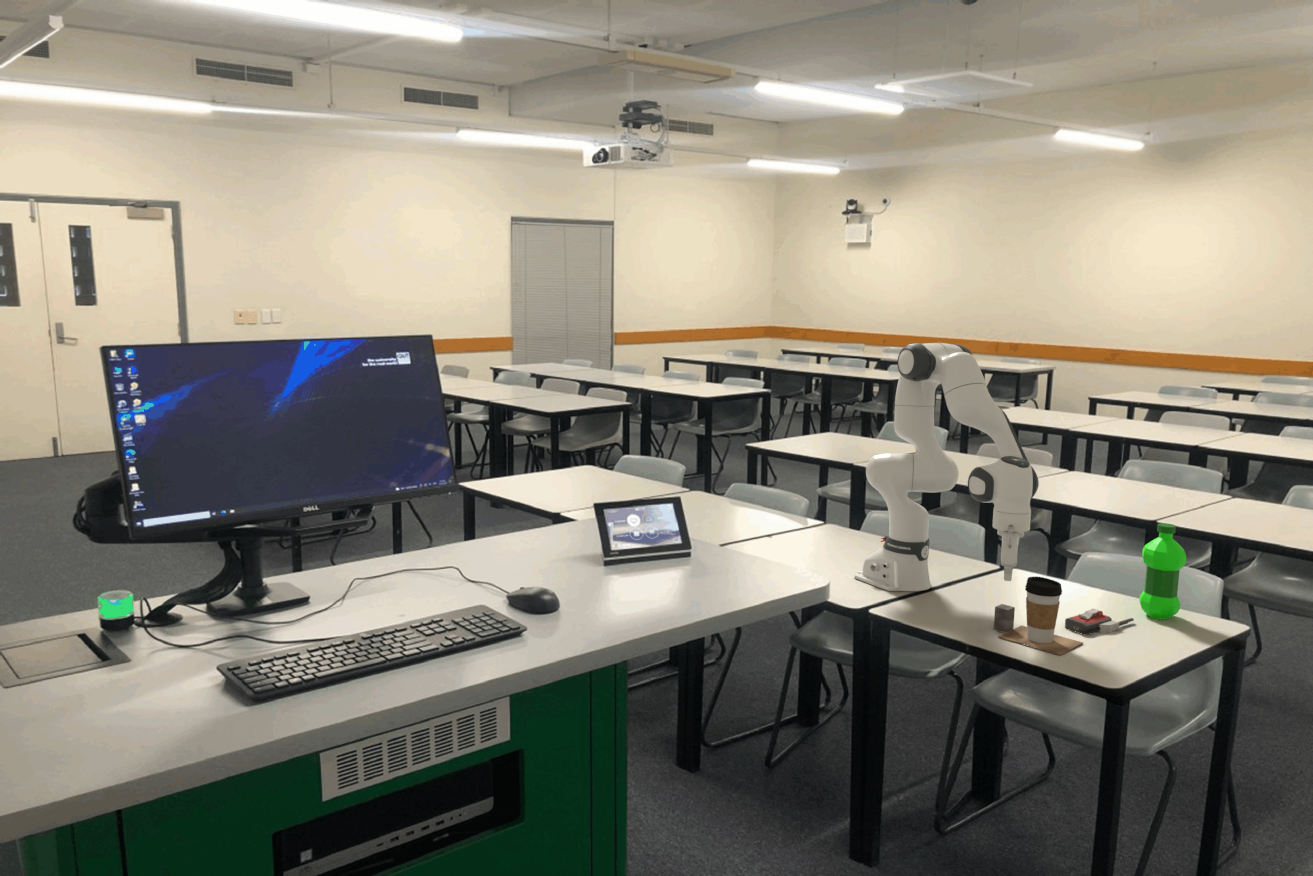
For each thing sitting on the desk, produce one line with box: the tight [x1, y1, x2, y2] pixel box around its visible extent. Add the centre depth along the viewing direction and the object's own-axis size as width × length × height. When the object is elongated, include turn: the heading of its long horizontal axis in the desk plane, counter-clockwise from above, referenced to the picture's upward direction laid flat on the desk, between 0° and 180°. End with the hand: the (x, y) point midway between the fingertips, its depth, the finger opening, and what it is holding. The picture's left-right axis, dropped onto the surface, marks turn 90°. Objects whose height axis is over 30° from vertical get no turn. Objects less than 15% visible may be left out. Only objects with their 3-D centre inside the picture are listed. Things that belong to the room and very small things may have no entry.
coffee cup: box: [1025, 576, 1063, 643], centre depth 237 cm, size 8×8×15 cm
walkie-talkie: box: [1064, 608, 1134, 635], centre depth 249 cm, size 9×4×20 cm
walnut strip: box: [993, 603, 1084, 656], centre depth 239 cm, size 20×12×6 cm, turn 42°
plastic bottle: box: [1138, 522, 1187, 620], centre depth 255 cm, size 10×10×25 cm
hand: (1008, 575), depth 243 cm, fingers open, 8 cm apart
